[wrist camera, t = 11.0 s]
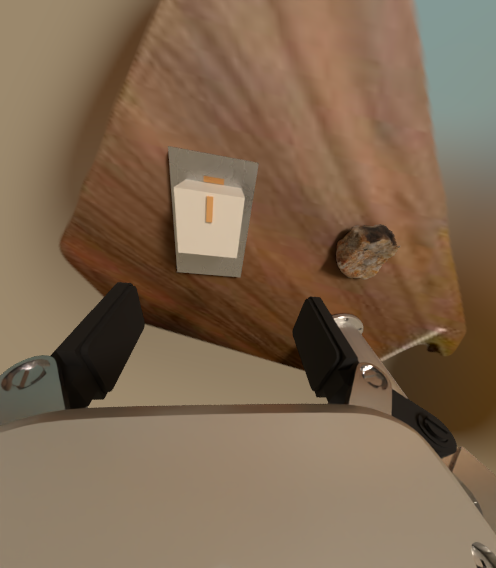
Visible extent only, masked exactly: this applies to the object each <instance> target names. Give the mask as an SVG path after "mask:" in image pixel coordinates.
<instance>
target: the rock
mask: <svg viewBox="0 0 496 568" xmlns="http://www.w3.org/2000/svg"><path fill="white" fill-rule="evenodd" d="M399 247H400V246H397V244H396V241H395V238H394V234H393V233H392V231H390V230H388V228H387V227H386V226H384V225H381V224H380V225H374V226H365V225H363V226H354V227H352V228H351V230H350V232H349V233H347V235H346V236H345V237H344V238H343V239H342V240H339V241H338V243H337V251H336V260H337V265H338V267H339V268H340V270H341V272H342V273H343V274H345V275H346V276H347V277H348V278H362V279H368V278H370V277H372V276H375V275H376V273H377V272H378V271H379V269H380V267H381V266H382V264H384V263H385V262H386V261H387V260H388V258H390V257H392V256H394V255H395V252H397V250H398V248H399Z"/></svg>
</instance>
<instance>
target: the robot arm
mask: <svg viewBox="0 0 496 568" xmlns="http://www.w3.org/2000/svg"><path fill="white" fill-rule="evenodd" d="M144 325H145V323H144V318H143V314H142V310H141V305H140V301H139V297H138V293H137V289H136V287H135V286H133V285H132V284H131V283H122V282H118V283H117V284H116V285H115V286H114V287H113V288H112V289H111V290H110V291H109V292H108V293H107V295H106V296H105V297H104V298H103V299H102V300H101V301H100V302H99V303H98V304H97V306H96V307H95V308H94V309H93V310H92V311H91V312H90V313H89V314H88V315H87V316H86V317H85V318H84V319H83V321H82V322H81V323H80V324H79V325H78V326H77V327H76V328H75V329H74V330H73V332H72V333H71V334H70V335H69V336H68V337H67V338H66V339H65V340H64V341H63V343H62V344H61V345H60V346H59V347H58V348H57V349H56V350H55V351H54V352H53V354H52V355H51V356H45V355H41V356H34V357H31V358H28V359H25V360H23V361H21V362H19V363H17V364H15V365H13V366H12V367H10V368H9V369H7V370H6V371H5V372H4V373H3V374H1V375H0V568H496V475H495V474H494V473H492V472H491V471H490V470H489V469H488V468H487V467H485V466H484V465H483V464H482V463H481V462H480V461H479V460H477V459H476V458H475V457H474V456H473V455H472V454H470V453H469V452H468V451H467V450H466V449H465V448H464V447H460V448H459V447H458V446H457V445H456V441H455V439H454V437H453V435H452V434H451V432H450V431H449V430H448V428H447V427H446V426H445V425H444V424H443V423H442V422H441V421H440V420H439V419H437V418H436V417H435V416H433V415H432V414H430V413H429V412H427V411H426V410H424V409H423V408H421V407H419V406H418V405H416V404H415V403H413V402H412V401H410V400H409V399H408V398H407V397H406V395H405V394H404V393H403V391H402V390H401V389H400V387H399V386H398V385H397V383H396V382H395V380H394V379H393V378H392V376H391V375H390V374H389V372H388V371H387V369H386V368H385V366H384V365H383V364H382V362H381V361H380V360H379V358H378V357H377V356H376V354H375V353H374V351H373V350H372V349H371V347H370V346H369V345H368V343H367V342H366V340H365V339H364V338H363V336H362V335H361V334H362V332H363V324H362V322H361V321H360V320H359V319H358V318H357V317H356V316H354V315H350V314H338V315H333V316H332V315H331V314H330V312H329V311H328V309H327V308H326V306H325V304H324V303H323V301H322V300H321V298H320V297H309V298H308V299H306V300H305V302H304V304H303V306H302V309H301V311H300V314H299V316H298V318H297V321H296V323H295V326H294V328H293V337H294V340H295V343H296V346H297V349H298V352H299V355H300V357H301V360H302V363H303V366H304V369H305V372H306V375H307V378H308V380H309V384H310V386H311V389H312V390H313V391H315V394H316V397H326V398H327V400H328V404H250V405H249V404H246V405H182V406H132V407H105V408H88V407H87V406H89V404H90V402H91V401H92V400H93V399H94V400H95V399H96V400H97V399H104V398H105V396H106V394H107V392H110V391H111V390H112V389H113V388H114V386H115V384H116V382H117V380H118V378H119V376H120V374H121V372H122V370H123V368H124V366H125V364H126V362H127V360H128V359H129V357H130V355H131V352H132V350H133V349H134V347H135V345H136V343H137V341H138V339H139V337H140V335H141V333H142V331H143V329H144Z"/></svg>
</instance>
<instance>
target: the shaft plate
mask: <svg viewBox="0 0 496 568" xmlns="http://www.w3.org/2000/svg"><path fill="white" fill-rule="evenodd" d="M168 152H169V166H170V179H171V193H172V207H173V220H174V234H175V248H176V261H177V272H183V273H195V274H207V275H219V276H231V277H241V270H242V264H243V258H244V252H245V245H246V239H247V233H248V227H249V220H250V214H251V208H252V201H253V195H254V189H255V183H256V176H257V170H258V164H259V163H256V162H251V161H245V160H240V159H235V158H230V157H224V156H219V155H214V154H208V153H203V152H198V151H192V150H187V149H182V148H176V147H171V146H168ZM186 179H187V180H194V181H200V182H206V183H212V184H218V185H225V186H231V187H237V188H241V189H242V191H243V194H244V197H245V201H244V208H243V216H242V223H241V231H240V238H239V245H238V253H237V258H229V257H219V256H209V255H199V254H189V253H178V242H177V227H176V212H175V197H174V187H175V186H176V185H178V184H179V183H181V182H183V181H184V180H186Z"/></svg>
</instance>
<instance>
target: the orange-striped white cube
mask: <svg viewBox="0 0 496 568" xmlns="http://www.w3.org/2000/svg"><path fill="white" fill-rule="evenodd" d="M174 197H175V212H176V227H177V242H178V253H189V254H199V255H209V256H219V257H229V258H237V253H238V245H239V238H240V231H241V223H242V216H243V208H244V201H245V197H244V194H243V191H242V189H241V188H237V187H231V186H225V185H218V184H212V183H206V182H200V181H194V180H187V179H186V180H184V181H183V182H181V183H179V184H178V185H176V186H175V187H174Z"/></svg>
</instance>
